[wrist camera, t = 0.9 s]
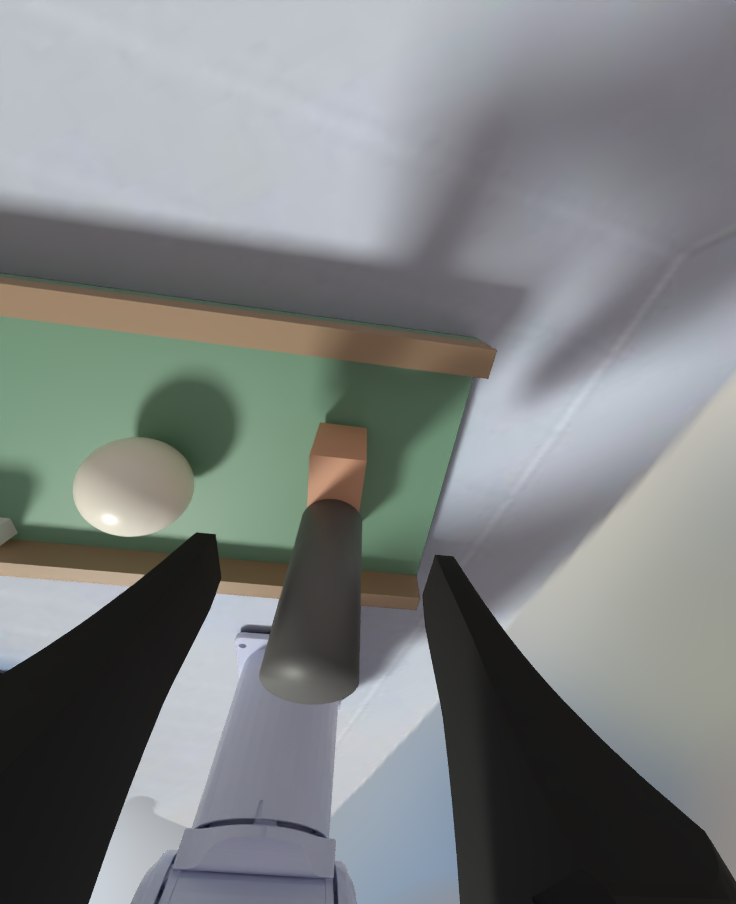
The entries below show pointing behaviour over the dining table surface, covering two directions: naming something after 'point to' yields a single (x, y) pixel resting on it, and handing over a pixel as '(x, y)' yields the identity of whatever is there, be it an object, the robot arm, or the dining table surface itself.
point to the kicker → (322, 579)
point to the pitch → (219, 428)
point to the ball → (133, 486)
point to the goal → (6, 530)
